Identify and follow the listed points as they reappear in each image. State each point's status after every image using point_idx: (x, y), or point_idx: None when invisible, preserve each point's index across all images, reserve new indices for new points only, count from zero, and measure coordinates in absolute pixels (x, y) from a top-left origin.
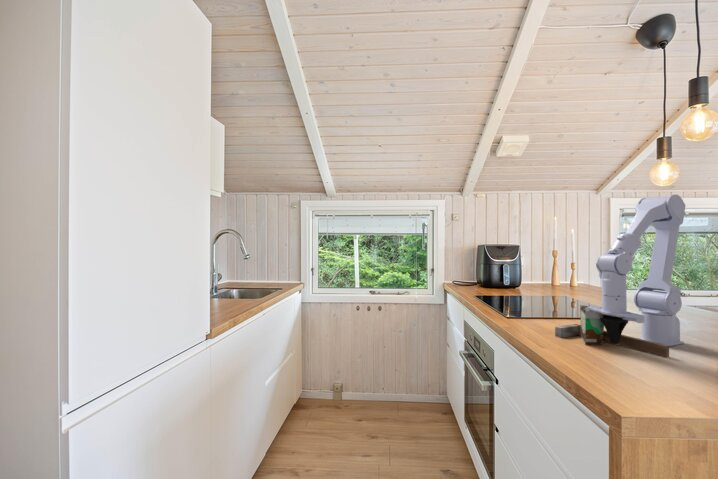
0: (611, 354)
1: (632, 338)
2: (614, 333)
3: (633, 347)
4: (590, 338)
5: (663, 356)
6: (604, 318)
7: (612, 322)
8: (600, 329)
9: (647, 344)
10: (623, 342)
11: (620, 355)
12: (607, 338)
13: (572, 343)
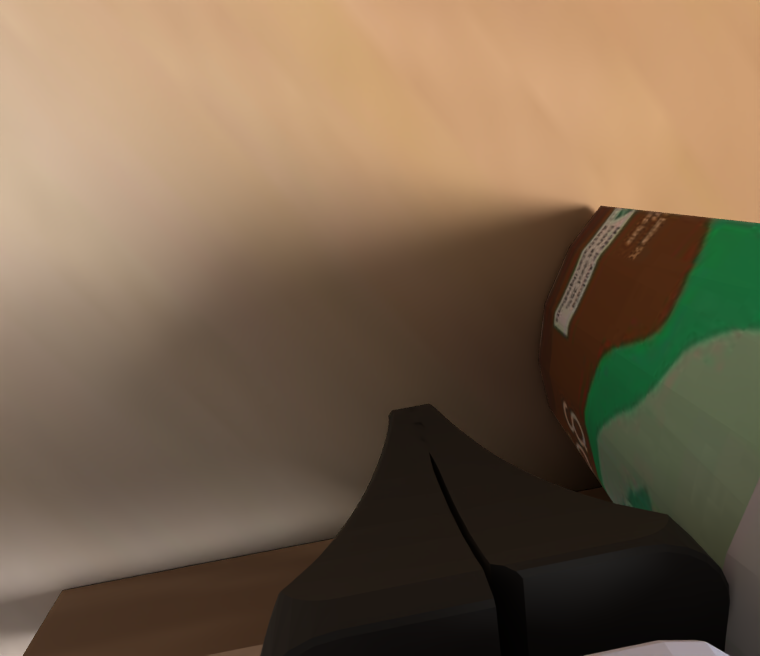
0: (226, 187)
1: None
2: (377, 474)
3: None
4: (600, 263)
5: (75, 591)
6: (645, 624)
7: (374, 578)
8: (618, 459)
9: (188, 635)
10: None
11: (178, 257)
12: None
13: (701, 96)
